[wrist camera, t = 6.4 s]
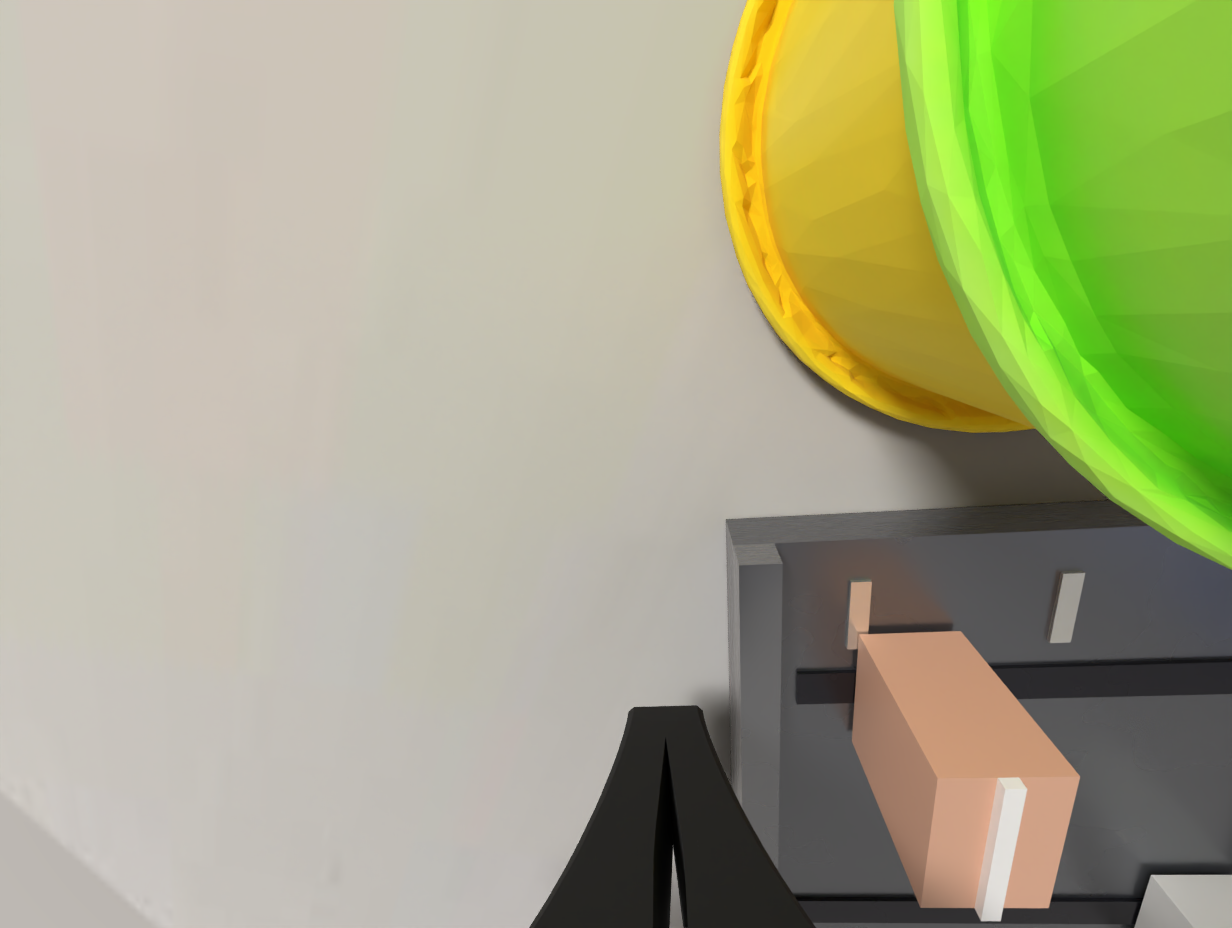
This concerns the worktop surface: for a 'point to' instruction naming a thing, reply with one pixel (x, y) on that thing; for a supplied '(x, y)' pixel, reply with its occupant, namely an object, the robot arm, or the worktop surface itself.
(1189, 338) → the stacking cups
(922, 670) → the fader terracotta
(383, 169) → the worktop surface
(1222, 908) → the fader white
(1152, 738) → the fader board
